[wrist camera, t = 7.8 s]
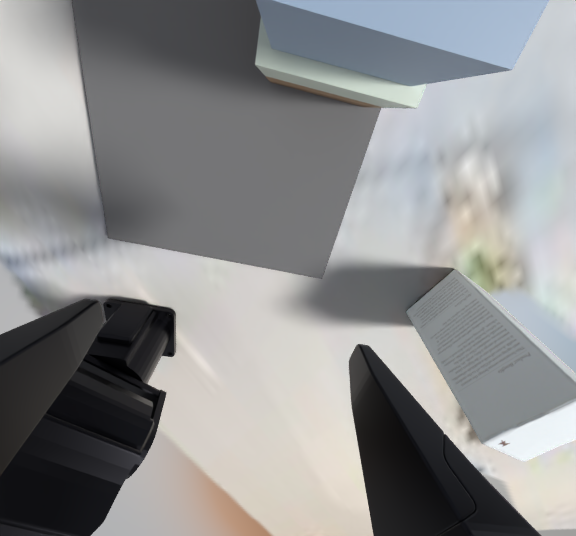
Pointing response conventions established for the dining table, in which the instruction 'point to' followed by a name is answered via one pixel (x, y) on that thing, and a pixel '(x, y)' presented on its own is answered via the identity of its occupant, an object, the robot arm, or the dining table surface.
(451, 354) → the skincare box
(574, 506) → the dining table surface
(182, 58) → the placemat
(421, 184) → the dining table surface
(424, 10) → the cube
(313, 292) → the dining table surface
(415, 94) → the tower mid
